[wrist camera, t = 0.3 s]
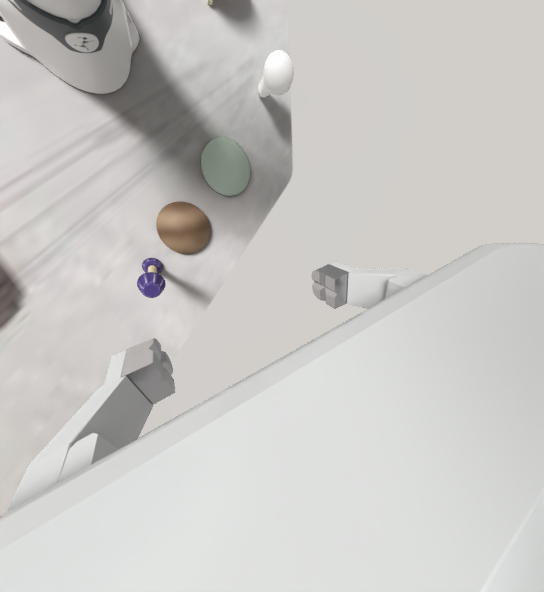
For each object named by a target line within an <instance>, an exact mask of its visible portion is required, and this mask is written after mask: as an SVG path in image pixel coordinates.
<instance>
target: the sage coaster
mask: <svg viewBox="0 0 544 592" xmlns="http://www.w3.org/2000/svg"><path fill="white" fill-rule="evenodd" d="M201 169H202V173H203V176H204V178H205V180H206V182H207V183H208V185H209V186H210V187H211V188H212V189H213V190H214V191H216V192H217V193H219V194H221V195H225V196H233V195H237V194H239V193H241V192H242V191H243V190H244V189H245V188H246V186H247V184H248V182H249V178H250V164H249V160H248V158H247V155H246V153H245V152H244V150H243V149H242V147H241V146H240V145H239V144H238V143H236V142H235V141H234V140H232V139H230V138H226V137H217V138H214V139H212V140H211V141H210V142H209V143H208V144H207V145H206V146H205V148H204V150H203V152H202V155H201Z"/></svg>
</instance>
